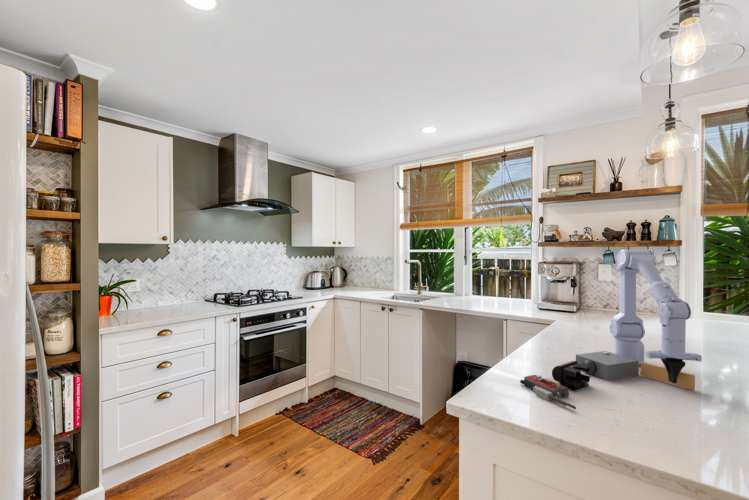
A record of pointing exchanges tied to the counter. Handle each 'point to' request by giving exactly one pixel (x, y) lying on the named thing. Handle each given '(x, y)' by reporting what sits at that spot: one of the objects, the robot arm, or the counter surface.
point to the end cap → (571, 375)
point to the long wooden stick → (662, 375)
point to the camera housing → (608, 365)
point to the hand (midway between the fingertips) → (672, 382)
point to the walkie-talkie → (547, 388)
